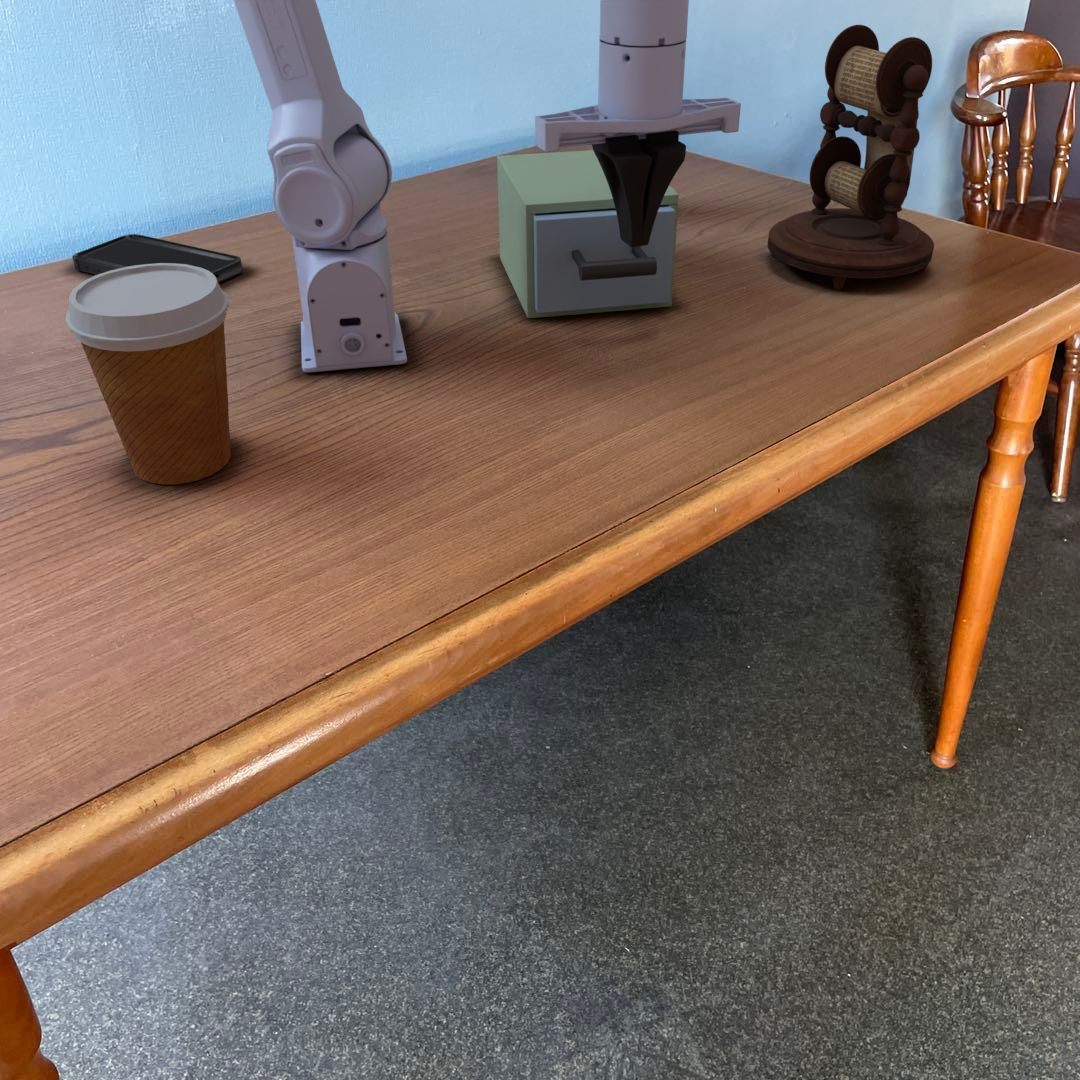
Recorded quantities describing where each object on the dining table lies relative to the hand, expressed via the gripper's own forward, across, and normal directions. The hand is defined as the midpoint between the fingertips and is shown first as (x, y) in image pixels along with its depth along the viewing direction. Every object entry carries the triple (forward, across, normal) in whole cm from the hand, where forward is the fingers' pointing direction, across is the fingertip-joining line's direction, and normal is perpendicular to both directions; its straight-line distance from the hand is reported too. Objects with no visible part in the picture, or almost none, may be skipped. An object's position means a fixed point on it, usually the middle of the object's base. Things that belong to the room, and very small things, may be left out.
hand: (634, 242), depth 79 cm
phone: (+9, +33, -34) cm, 48 cm away
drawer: (+9, -2, -13) cm, 15 cm away
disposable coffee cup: (+10, +34, +4) cm, 36 cm away
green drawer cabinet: (+9, -3, -17) cm, 19 cm away
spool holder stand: (+10, -27, -12) cm, 31 cm away
